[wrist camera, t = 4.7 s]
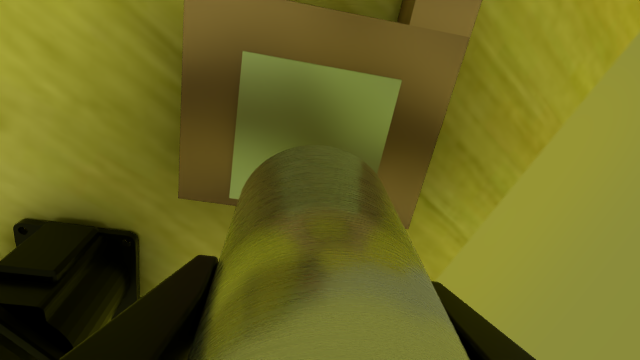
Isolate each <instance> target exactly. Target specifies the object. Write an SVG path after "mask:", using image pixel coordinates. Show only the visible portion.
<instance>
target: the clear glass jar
mask: <svg viewBox="0 0 640 360" xmlns="http://www.w3.org/2000/svg"><path fill="white" fill-rule="evenodd" d="M187 360H470V359H469V357H468V355H467V353H466V351H465V349H464V347H463V345H462V343H461V341H460V339H459V337H458V335H457V333H456V331H455V329H454V327H453V325H452V323H451V321H450V319H449V317H448V314H447V312H446V310H445V308H444V306H443V304H442V302H441V300H440V298H439V296H438V294H437V292H436V290H435V288H434V286H433V284H432V282H431V280H430V278H429V276H428V274H427V272H426V270H425V268H424V266H423V264H422V262H421V260H420V258H419V256H418V254H417V252H416V250H415V248H414V246H413V244H412V242H411V240H410V238H409V236H408V234H407V232H406V230H405V228H404V226H403V224H402V222H401V220H400V218H399V216H398V214H397V212H396V210H395V208H394V206H393V204H392V202H391V200H390V198H389V196H388V194H387V192H386V190H385V188H384V186H383V184H382V182H381V180H380V179H379V177H378V175H377V174H376V173H375V172H374V170H373V169H372V168H371V167H370V166H369V165H368V164H367V163H365V162H364V161H363V160H361V159H360V158H358V157H357V156H355V155H353V154H351V153H349V152H347V151H345V150H342V149H339V148H335V147H330V146H323V145H305V146H299V147H294V148H291V149H287V150H284V151H282V152H280V153H277V154H275V155H274V156H272V157H270V158H269V159H267V160H266V161H264V162H263V163H262V164H261V165H259V166H258V167H257V168H256V169H255V170H254V172H253V173H252V174H251V175H250V177H249V178H248V179H247V181H246V183H245V185H244V187H243V188H242V191H241V194H240V197H239V200H238V203H237V206H236V209H235V212H234V215H233V218H232V222H231V225H230V228H229V231H228V234H227V237H226V240H225V243H224V246H223V249H222V252H221V256H220V259H219V262H218V265H217V268H216V271H215V274H214V277H213V280H212V283H211V286H210V290H209V293H208V296H207V299H206V302H205V305H204V308H203V311H202V314H201V317H200V320H199V324H198V327H197V330H196V333H195V336H194V339H193V342H192V345H191V348H190V351H189V354H188V358H187Z"/></svg>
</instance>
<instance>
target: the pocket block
mask: <svg viewBox="0 0 640 360" xmlns="http://www.w3.org/2000/svg"><path fill="white" fill-rule="evenodd" d="M481 2H482V0H403V1H402V5H401V9H400V13H399V17H398V21H397V22H392V21H387V20H382V19H377V18H372V17H367V16H362V15H357V14H352V13H347V12H342V11H337V10H332V9H327V8H322V7H318V6H313V5H308V4H303V3H298V2H293V1H288V0H184V23H183V56H182V90H181V124H180V157H179V191H178V198H181V199H188V200H196V201H203V202H211V203H218V204H226V205H233V206H237V203H238V200H239V197H240V194H241V191H242V188H243V187H244V185H245V183H246V181H247V179H248V178H249V177H250V175H251V174H252V173H253V172H254V170H255V169H256V168H257V167H258V166H259V165H261V164H262V163H263V162H264V161H266V160H267V159H269V158H270V157H272V156H274V155H275V154H277V153H280V152H282V151H284V150H287V149H291V148H294V147H299V146H305V145H323V146H330V147H335V148H339V149H342V150H345V151H347V152H349V153H351V154H353V155H355V156H357V157H358V158H360V159H361V160H363V161H364V162H365V163H367V164H368V165H369V166H370V167H371V168H372V169H373V170H374V172H375V173H376V174H377V175H378V177H379V179H380V180H381V182H382V184H383V186H384V188H385V190H386V192H387V194H388V196H389V198H390V200H391V202H392V204H393V206H394V208H395V210H396V212H397V214H398V216H399V218H400V220H401V222H402V224H403V226H404V228H405V229H408V228H409V225H410V222H411V219H412V216H413V213H414V210H415V207H416V203H417V200H418V197H419V194H420V191H421V188H422V185H423V182H424V179H425V176H426V172H427V169H428V166H429V163H430V160H431V157H432V154H433V151H434V148H435V145H436V142H437V138H438V135H439V132H440V129H441V126H442V123H443V120H444V117H445V114H446V111H447V107H448V104H449V101H450V98H451V95H452V92H453V89H454V86H455V83H456V80H457V76H458V73H459V70H460V67H461V64H462V61H463V58H464V55H465V52H466V49H467V45H468V42H469V39H470V36H471V33H472V30H473V27H474V24H475V21H476V18H477V14H478V11H479V8H480V5H481Z"/></svg>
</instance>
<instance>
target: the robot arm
mask: <svg viewBox="0 0 640 360" xmlns="http://www.w3.org/2000/svg"><path fill="white" fill-rule="evenodd" d="M23 227H25V228H26V229H27V230H28V231H27V230H25V229H24V228H23ZM13 231H14V236H15V242H16V248H15V249H14V250H13V251H12V252H10V253H9V254H8V255H7V256H6V257H4V258H3V259H2V260H1V261H0V360H187V358H188V354H189V351H190V348H191V345H192V342H193V339H194V336H195V333H196V330H197V327H198V324H199V320H200V317H201V314H202V311H203V308H204V305H205V302H206V299H207V296H208V293H209V290H210V286H211V283H212V280H213V277H214V274H215V271H216V268H217V265H218V259H217V257H215V256H206V255H198V256H196V257H195V258H193V259H192V260H191V261H189V262H188V263H187V264H185V265H184V266H183V267H181V268H180V269H179V270H177V271H176V272H175V273H173V274H172V275H171V276H169V277H168V278H167V279H165V280H164V281H163V282H161V283H160V284H159V285H157V286H156V287H155V288H153V289H152V290H151V291H149V292H148V293H147V294H145V295H144V296H143V297H141V298H140V299H139V250H138V237H137V236H136V235H135V234H134V233H131V232H126V231H118V230H110V229H102V228H95V227H91V226H83V225H75V224H67V223H59V222H44V221H36V220H27V219H24V220H21V221H19V222H18V223H17V224H15V225H14V227H13ZM125 239H127V240H129V241H130V242H131V243H129V242H127V241H125ZM431 282H432V284H433V286H434V288H435V290H436V292H437V294H438V296H439V298H440V300H441V302H442V304H443V306H444V308H445V310H446V312H447V314H448V317H449V319H450V321H451V323H452V325H453V327H454V329H455V331H456V333H457V335H458V337H459V339H460V341H461V343H462V345H463V347H464V349H465V351H466V353H467V355H468V357H469V359H470V360H536V359H534V358H533V357H532V356H531V355H529V354H528V353H527V352H526V351H525V350H523V349H522V348H521V347H519V346H518V345H517V344H516V343H515V342H513V341H512V340H511V339H510V338H508V337H507V336H506V335H505V334H503V333H502V332H501V331H499V330H498V329H497V328H496V327H495V326H493V325H492V324H491V323H489V322H488V321H487V320H486V319H484V318H483V317H482V316H481V315H479V314H478V313H477V312H476V311H474V310H473V309H472V308H471V307H469V306H468V305H467V304H466V303H464V302H463V301H462V300H460V299H459V298H458V297H457V296H455V295H454V294H453V293H452V292H451V291H449V290H448V289H447V288H446V287H444V286H443V285H442V284H441V283H439V282H434V281H431ZM110 320H111V321H110Z"/></svg>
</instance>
